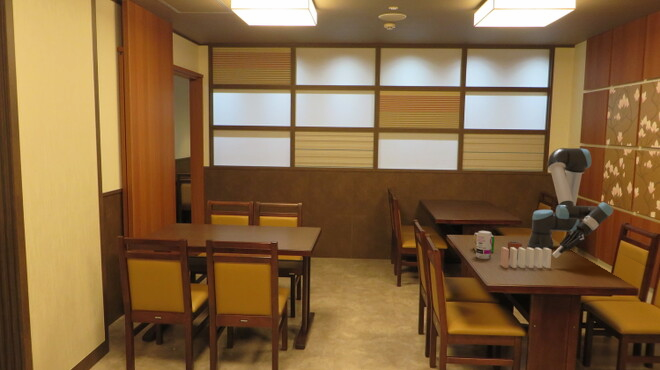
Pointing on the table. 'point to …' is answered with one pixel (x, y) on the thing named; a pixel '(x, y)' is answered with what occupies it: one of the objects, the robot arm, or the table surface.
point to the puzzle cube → (476, 242)
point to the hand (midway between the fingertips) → (554, 256)
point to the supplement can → (484, 244)
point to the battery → (515, 245)
